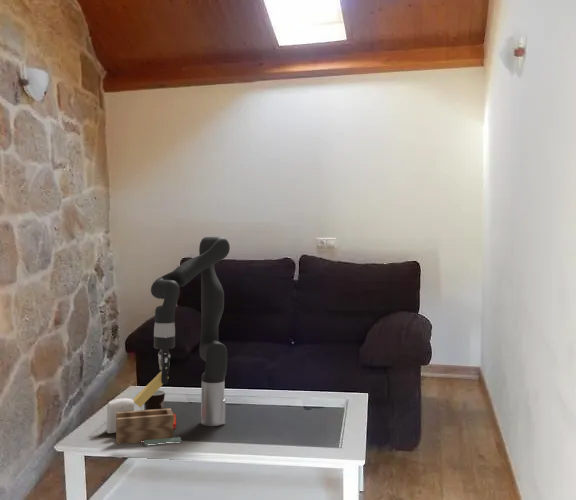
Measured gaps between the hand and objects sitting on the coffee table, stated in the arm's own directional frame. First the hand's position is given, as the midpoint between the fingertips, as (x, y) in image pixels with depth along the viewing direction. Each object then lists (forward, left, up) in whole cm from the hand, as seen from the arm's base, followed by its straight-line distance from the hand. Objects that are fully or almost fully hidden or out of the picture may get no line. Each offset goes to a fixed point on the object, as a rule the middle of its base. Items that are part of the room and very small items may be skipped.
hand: (163, 381), depth 207 cm
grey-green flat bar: (0, 0, -22) cm, 22 cm away
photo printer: (+14, -17, -23) cm, 32 cm away
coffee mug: (+1, -31, -23) cm, 39 cm away
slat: (+3, 0, -3) cm, 5 cm away
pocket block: (+6, -7, -22) cm, 24 cm away
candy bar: (-5, -21, -23) cm, 32 cm away
